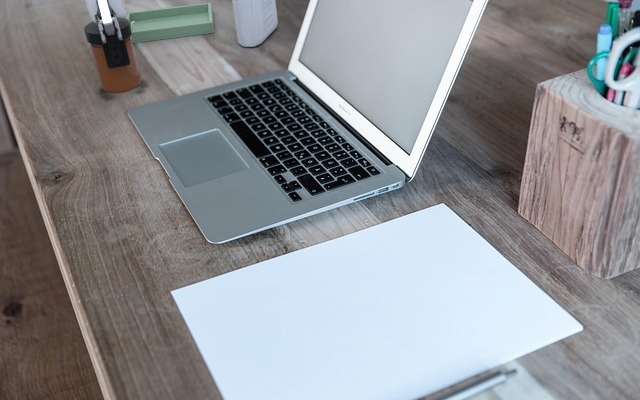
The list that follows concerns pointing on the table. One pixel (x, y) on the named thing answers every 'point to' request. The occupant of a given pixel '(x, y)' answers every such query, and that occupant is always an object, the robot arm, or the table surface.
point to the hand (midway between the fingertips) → (116, 55)
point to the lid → (93, 28)
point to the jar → (117, 70)
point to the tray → (171, 22)
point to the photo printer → (254, 20)
